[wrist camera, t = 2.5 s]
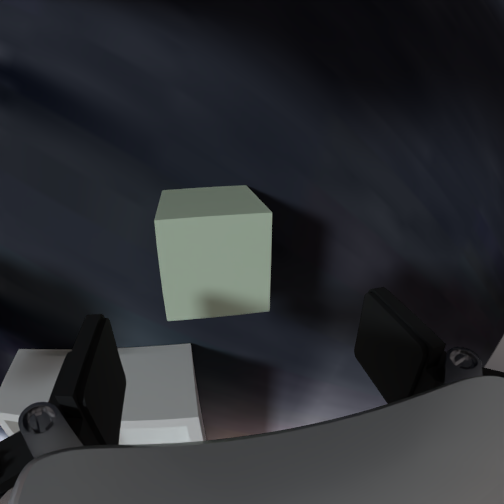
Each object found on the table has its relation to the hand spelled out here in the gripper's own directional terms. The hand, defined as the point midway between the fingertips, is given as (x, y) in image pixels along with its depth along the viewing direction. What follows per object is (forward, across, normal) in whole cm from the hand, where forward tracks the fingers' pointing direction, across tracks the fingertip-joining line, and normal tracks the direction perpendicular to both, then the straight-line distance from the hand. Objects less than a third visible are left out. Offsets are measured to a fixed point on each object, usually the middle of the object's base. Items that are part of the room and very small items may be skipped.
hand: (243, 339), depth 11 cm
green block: (+10, +1, -1) cm, 10 cm away
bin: (+10, +10, +15) cm, 21 cm away
